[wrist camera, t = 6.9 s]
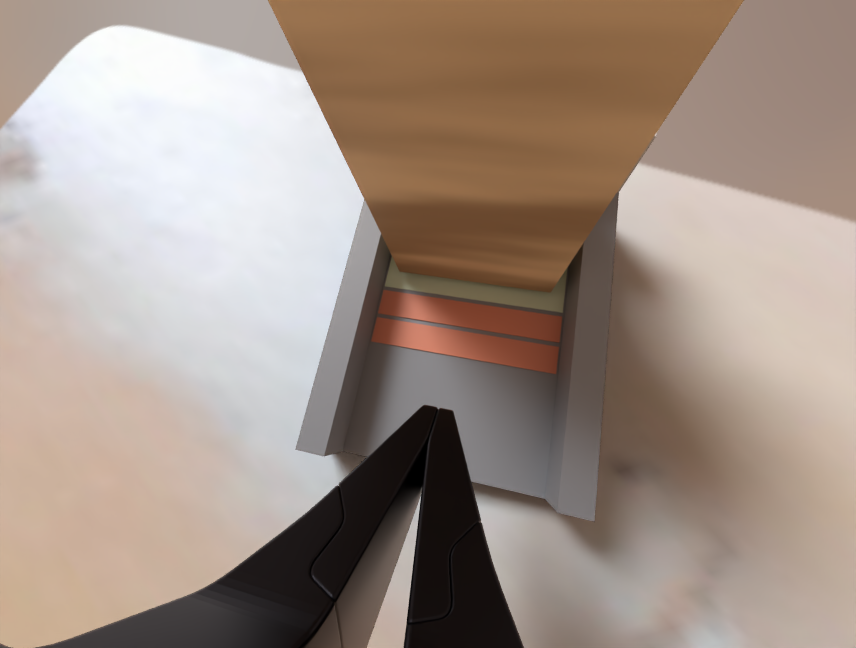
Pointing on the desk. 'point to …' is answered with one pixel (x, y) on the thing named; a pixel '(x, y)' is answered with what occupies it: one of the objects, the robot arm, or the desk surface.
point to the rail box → (473, 366)
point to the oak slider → (496, 117)
